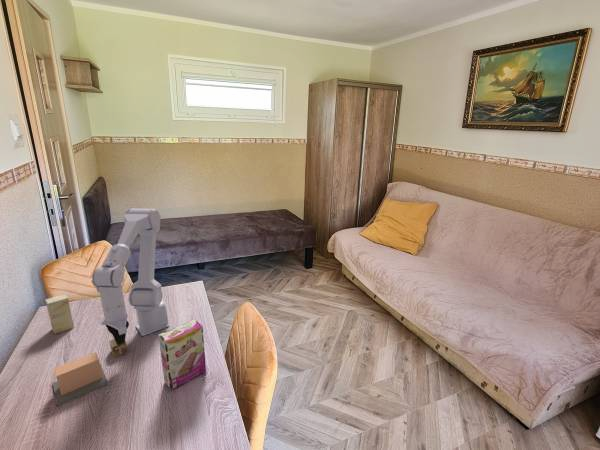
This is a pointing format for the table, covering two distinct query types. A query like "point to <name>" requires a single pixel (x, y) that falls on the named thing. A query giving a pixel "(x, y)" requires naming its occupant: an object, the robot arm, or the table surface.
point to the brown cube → (118, 348)
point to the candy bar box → (182, 353)
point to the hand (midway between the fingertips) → (120, 342)
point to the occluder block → (78, 373)
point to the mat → (78, 390)
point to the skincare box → (59, 313)
